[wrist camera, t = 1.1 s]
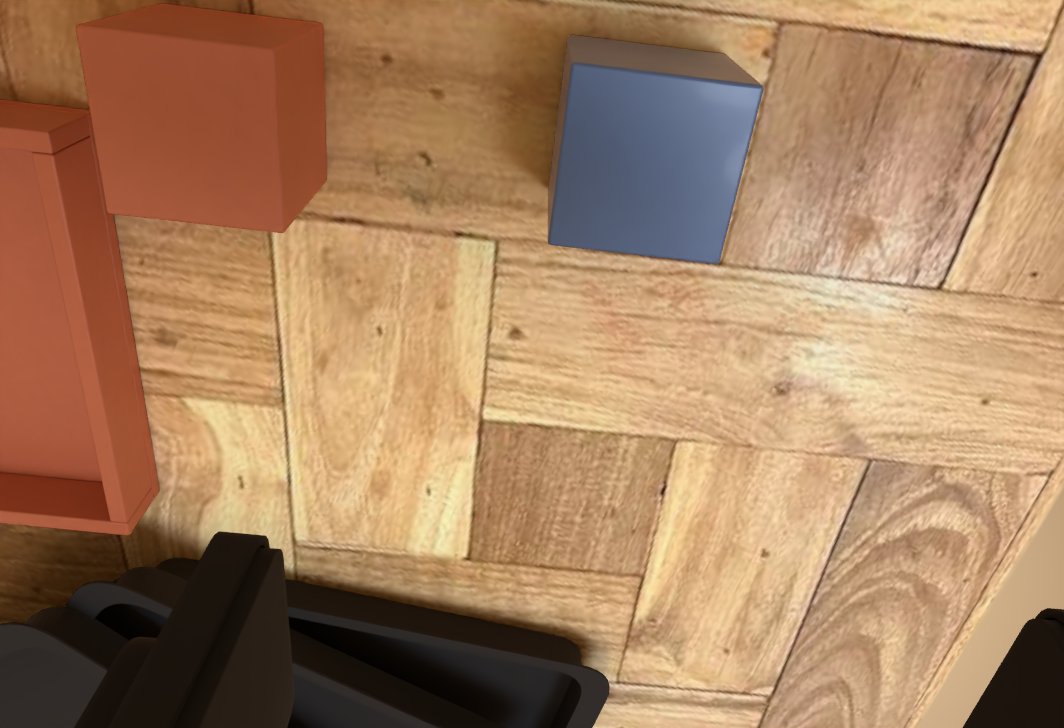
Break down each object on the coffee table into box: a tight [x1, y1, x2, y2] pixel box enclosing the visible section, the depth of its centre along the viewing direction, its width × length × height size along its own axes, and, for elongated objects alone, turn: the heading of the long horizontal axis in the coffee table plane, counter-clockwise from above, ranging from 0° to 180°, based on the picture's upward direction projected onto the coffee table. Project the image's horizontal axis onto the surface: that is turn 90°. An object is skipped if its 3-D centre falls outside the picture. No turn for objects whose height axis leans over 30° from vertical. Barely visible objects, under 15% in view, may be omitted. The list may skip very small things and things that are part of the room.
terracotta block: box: [76, 3, 327, 233], centre depth 20 cm, size 4×4×4 cm
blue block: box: [548, 35, 763, 264], centre depth 20 cm, size 4×4×4 cm
